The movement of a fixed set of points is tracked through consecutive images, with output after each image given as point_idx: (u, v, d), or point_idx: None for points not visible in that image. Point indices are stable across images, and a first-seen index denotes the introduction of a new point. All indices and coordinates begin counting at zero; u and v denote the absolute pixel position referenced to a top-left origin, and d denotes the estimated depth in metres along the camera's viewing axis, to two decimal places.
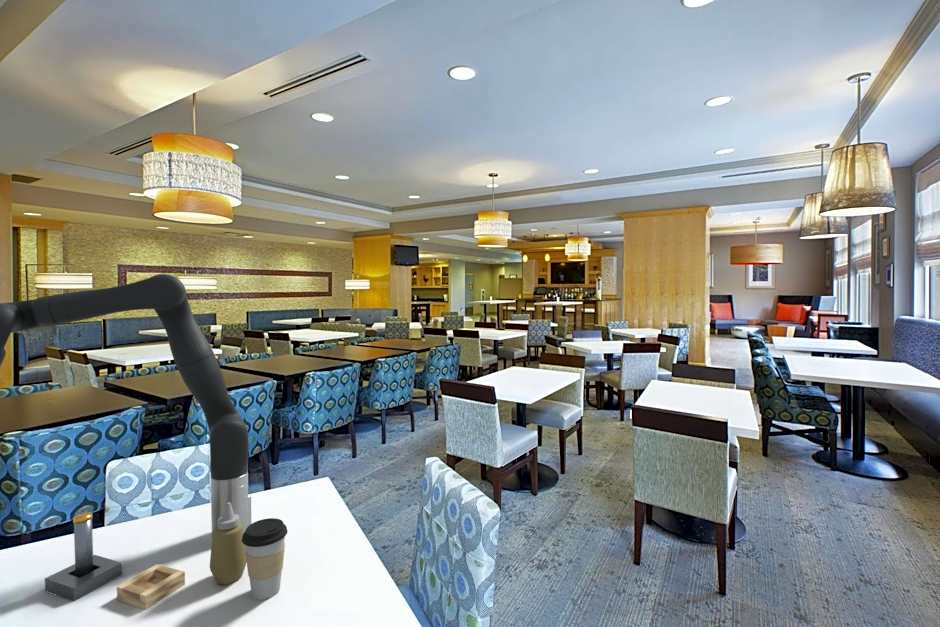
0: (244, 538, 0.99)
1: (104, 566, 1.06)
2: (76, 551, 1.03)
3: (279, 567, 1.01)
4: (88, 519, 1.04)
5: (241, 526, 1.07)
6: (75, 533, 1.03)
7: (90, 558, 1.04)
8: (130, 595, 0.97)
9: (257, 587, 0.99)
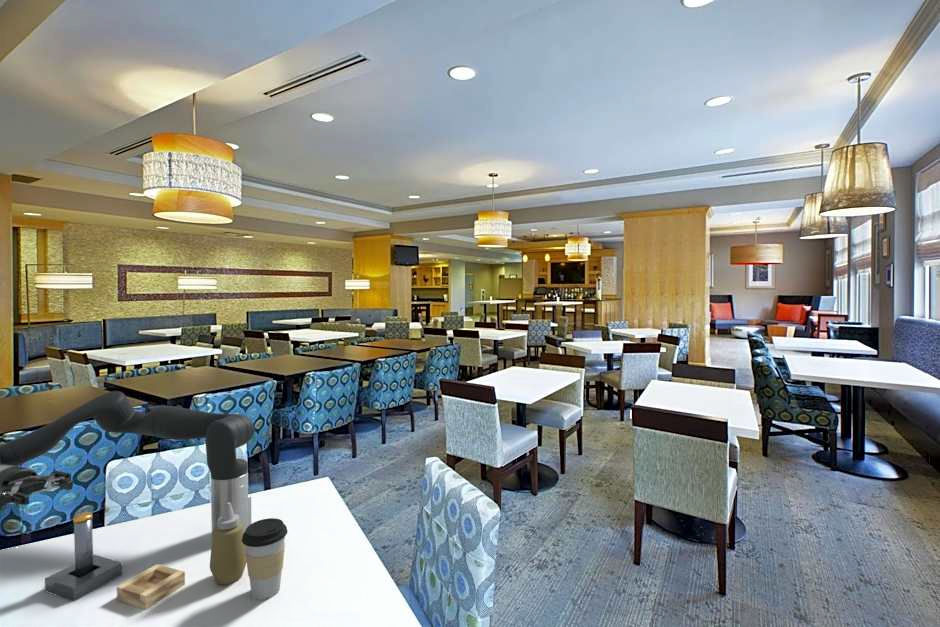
0: (244, 538, 0.99)
1: (104, 566, 1.06)
2: (76, 551, 1.03)
3: (279, 567, 1.01)
4: (88, 519, 1.04)
5: (241, 526, 1.07)
6: (75, 533, 1.03)
7: (90, 558, 1.04)
8: (130, 595, 0.97)
9: (257, 587, 0.99)
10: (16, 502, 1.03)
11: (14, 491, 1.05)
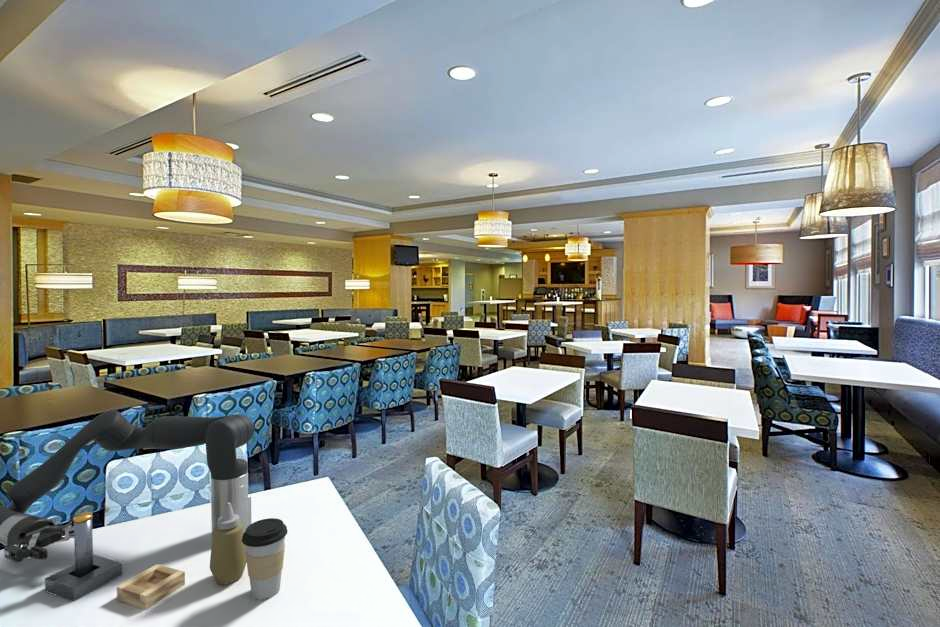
0: (244, 538, 0.99)
1: (104, 566, 1.06)
2: (76, 551, 1.03)
3: (279, 567, 1.01)
4: (88, 519, 1.04)
5: (241, 526, 1.07)
6: (75, 533, 1.03)
7: (90, 558, 1.04)
8: (130, 595, 0.97)
9: (257, 587, 0.99)
10: (34, 557, 1.01)
11: (32, 545, 1.03)
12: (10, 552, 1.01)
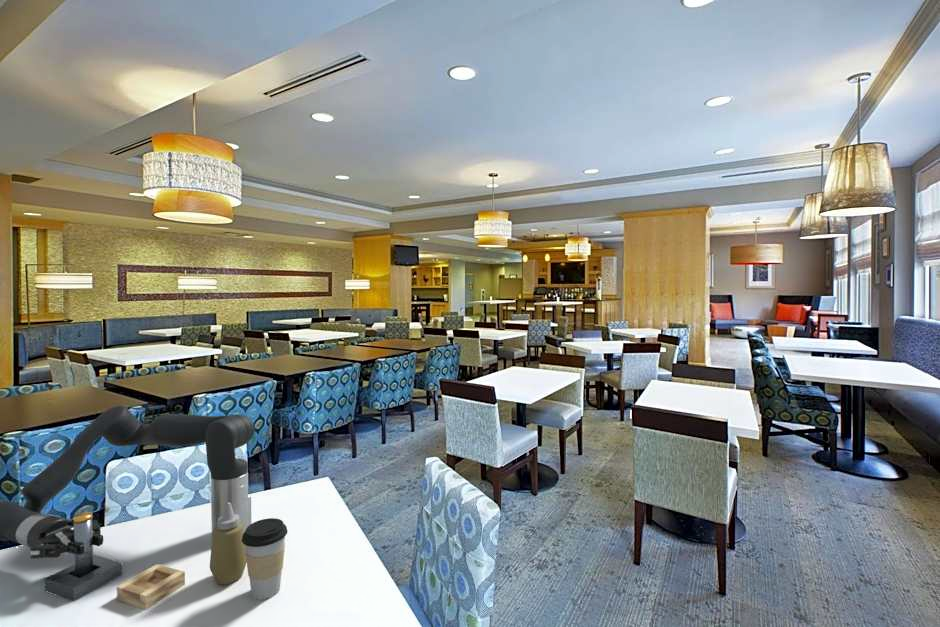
0: (244, 538, 0.99)
1: (104, 566, 1.06)
2: None
3: (279, 567, 1.01)
4: (88, 519, 1.04)
5: (241, 526, 1.07)
6: (75, 533, 1.03)
7: (90, 558, 1.04)
8: (130, 595, 0.97)
9: (257, 587, 0.99)
10: (72, 552, 1.01)
11: (66, 540, 1.03)
12: (44, 550, 1.00)
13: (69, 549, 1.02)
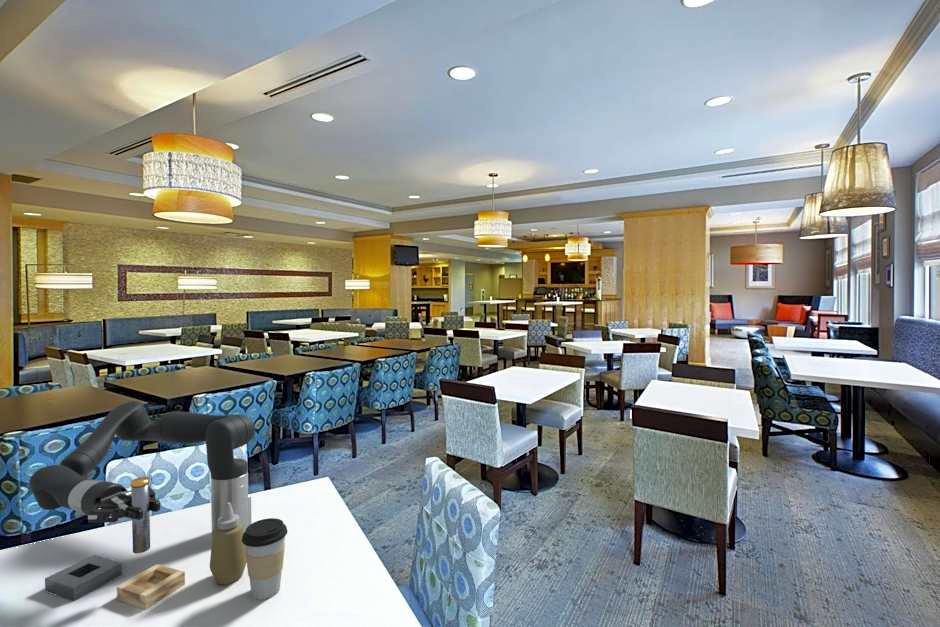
0: (244, 538, 0.99)
1: (104, 566, 1.06)
2: None
3: (279, 567, 1.01)
4: (146, 484, 1.00)
5: (241, 526, 1.07)
6: (133, 498, 0.99)
7: (147, 524, 1.01)
8: (130, 595, 0.97)
9: (257, 587, 0.99)
10: (130, 517, 0.98)
11: (124, 505, 1.00)
12: (102, 514, 0.97)
13: (127, 514, 0.98)
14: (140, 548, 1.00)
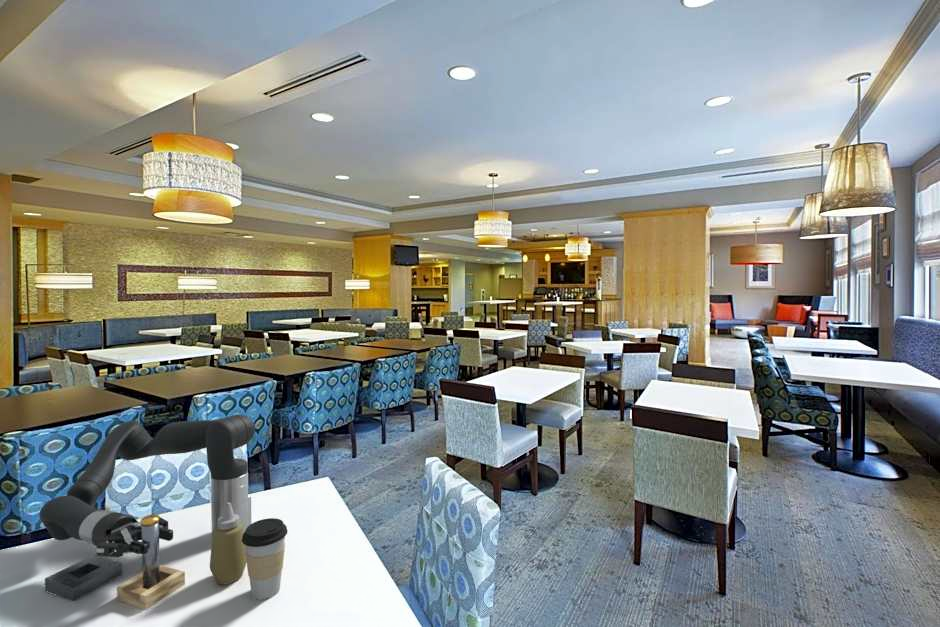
0: (244, 538, 0.99)
1: (104, 566, 1.06)
2: (144, 555, 1.00)
3: (279, 567, 1.01)
4: (156, 522, 1.01)
5: (241, 526, 1.07)
6: (143, 536, 1.00)
7: (157, 562, 1.01)
8: (130, 595, 0.97)
9: (257, 587, 0.99)
10: (135, 551, 0.97)
11: (129, 539, 0.99)
12: (107, 548, 0.97)
13: (132, 548, 0.98)
14: (150, 587, 1.00)
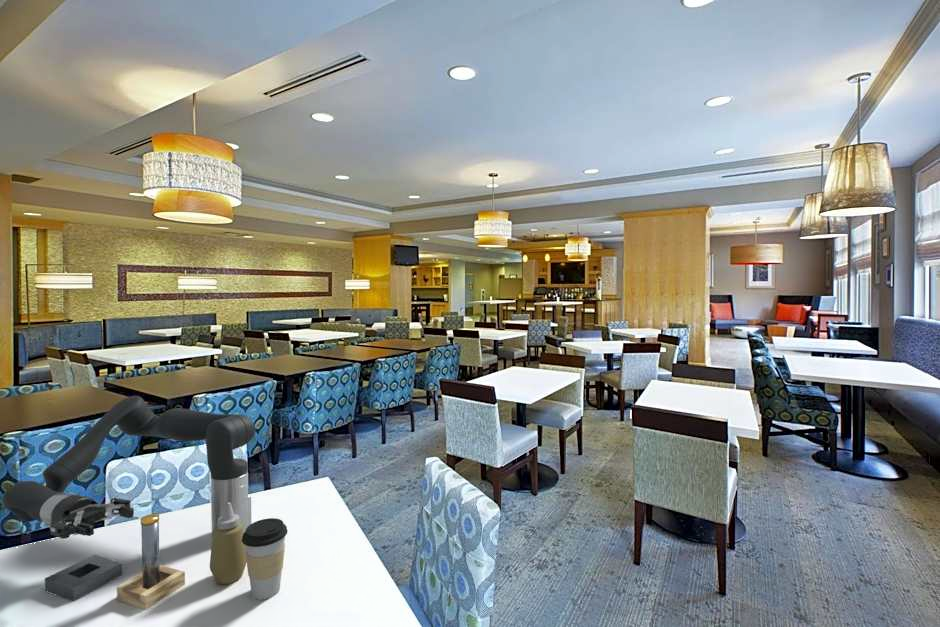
0: (244, 538, 0.99)
1: (104, 566, 1.06)
2: (144, 554, 1.00)
3: (279, 567, 1.01)
4: (155, 521, 1.01)
5: (241, 526, 1.07)
6: (143, 536, 1.00)
7: (157, 562, 1.01)
8: (130, 595, 0.97)
9: (257, 587, 0.99)
10: (81, 533, 1.00)
11: (78, 521, 1.02)
12: (57, 528, 1.00)
13: (78, 530, 1.00)
14: (150, 586, 1.00)
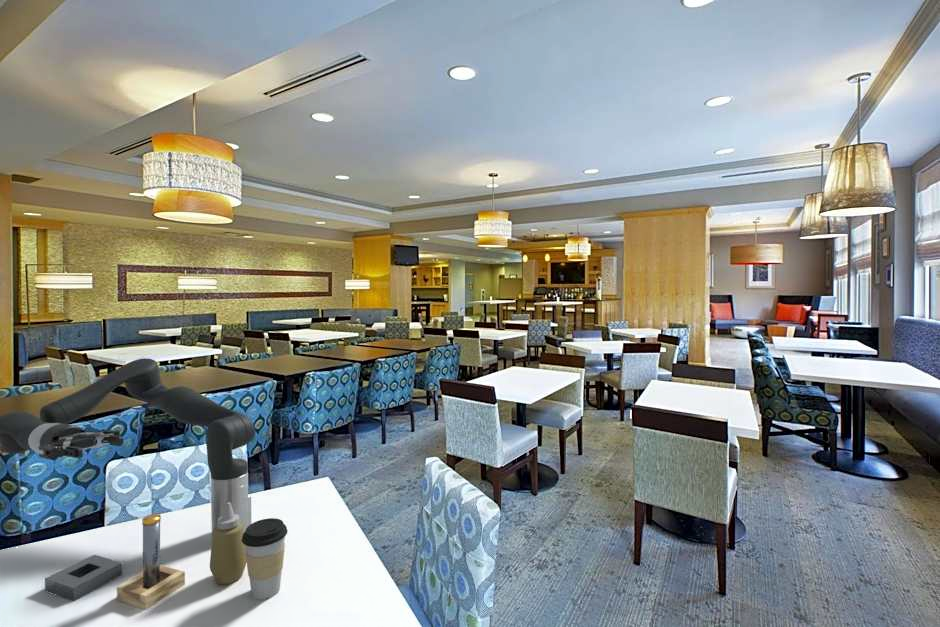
0: (244, 538, 0.99)
1: (104, 566, 1.06)
2: (144, 554, 1.00)
3: (279, 567, 1.01)
4: (157, 521, 1.01)
5: (241, 526, 1.07)
6: (144, 536, 1.00)
7: (158, 562, 1.01)
8: (130, 595, 0.97)
9: (257, 587, 0.99)
10: (69, 455, 1.00)
11: (66, 445, 1.02)
12: (45, 450, 1.00)
13: (67, 452, 1.00)
14: (150, 586, 1.00)
